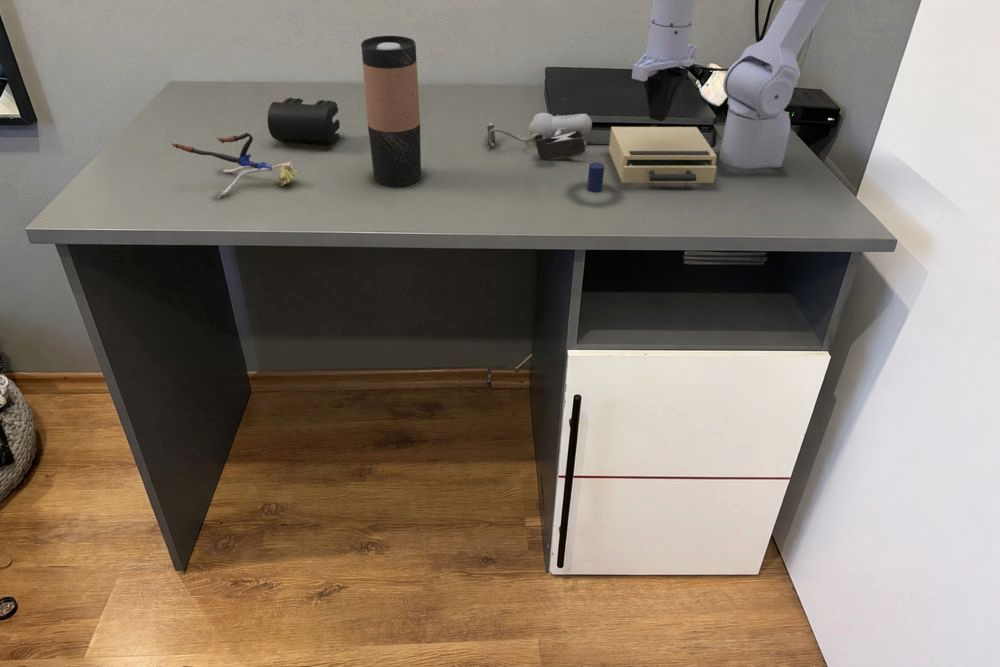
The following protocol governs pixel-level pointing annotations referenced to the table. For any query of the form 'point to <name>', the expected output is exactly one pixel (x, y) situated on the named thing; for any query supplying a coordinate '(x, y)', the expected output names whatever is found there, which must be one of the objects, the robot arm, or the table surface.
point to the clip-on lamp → (554, 134)
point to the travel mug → (392, 109)
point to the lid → (595, 177)
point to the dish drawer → (658, 145)
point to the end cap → (303, 122)
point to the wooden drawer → (668, 171)
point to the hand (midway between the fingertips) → (657, 118)
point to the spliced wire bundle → (245, 161)
